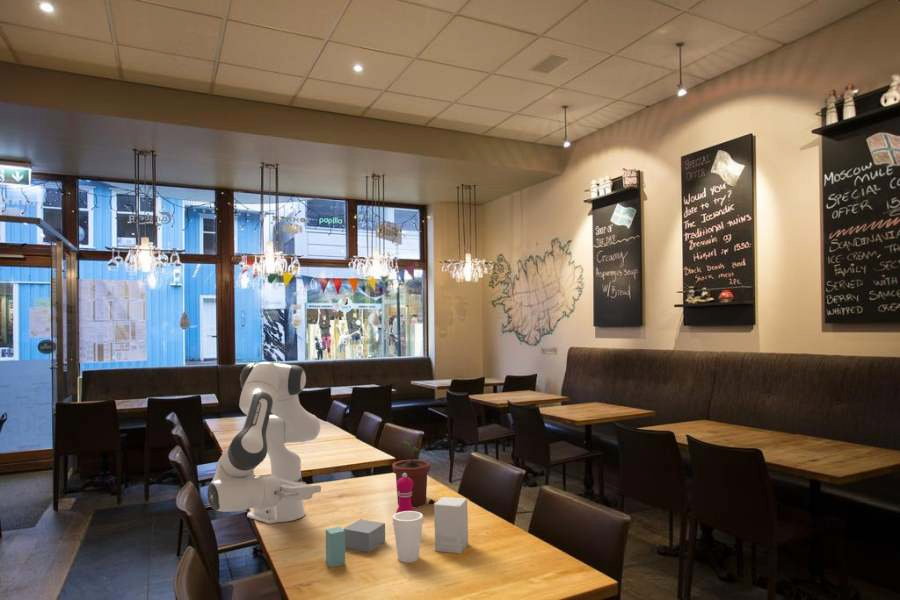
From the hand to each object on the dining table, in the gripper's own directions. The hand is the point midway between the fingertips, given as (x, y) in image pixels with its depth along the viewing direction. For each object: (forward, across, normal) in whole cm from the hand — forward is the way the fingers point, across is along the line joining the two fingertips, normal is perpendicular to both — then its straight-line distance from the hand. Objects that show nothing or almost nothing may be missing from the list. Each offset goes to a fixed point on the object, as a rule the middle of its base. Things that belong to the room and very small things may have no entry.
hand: (312, 486), depth 169 cm
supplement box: (+44, -14, +22) cm, 51 cm away
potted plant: (+64, +33, +15) cm, 74 cm away
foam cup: (+28, -11, +23) cm, 38 cm away
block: (+10, +1, +24) cm, 25 cm away
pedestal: (+24, +8, +21) cm, 33 cm away
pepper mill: (+42, +9, +20) cm, 47 cm away
